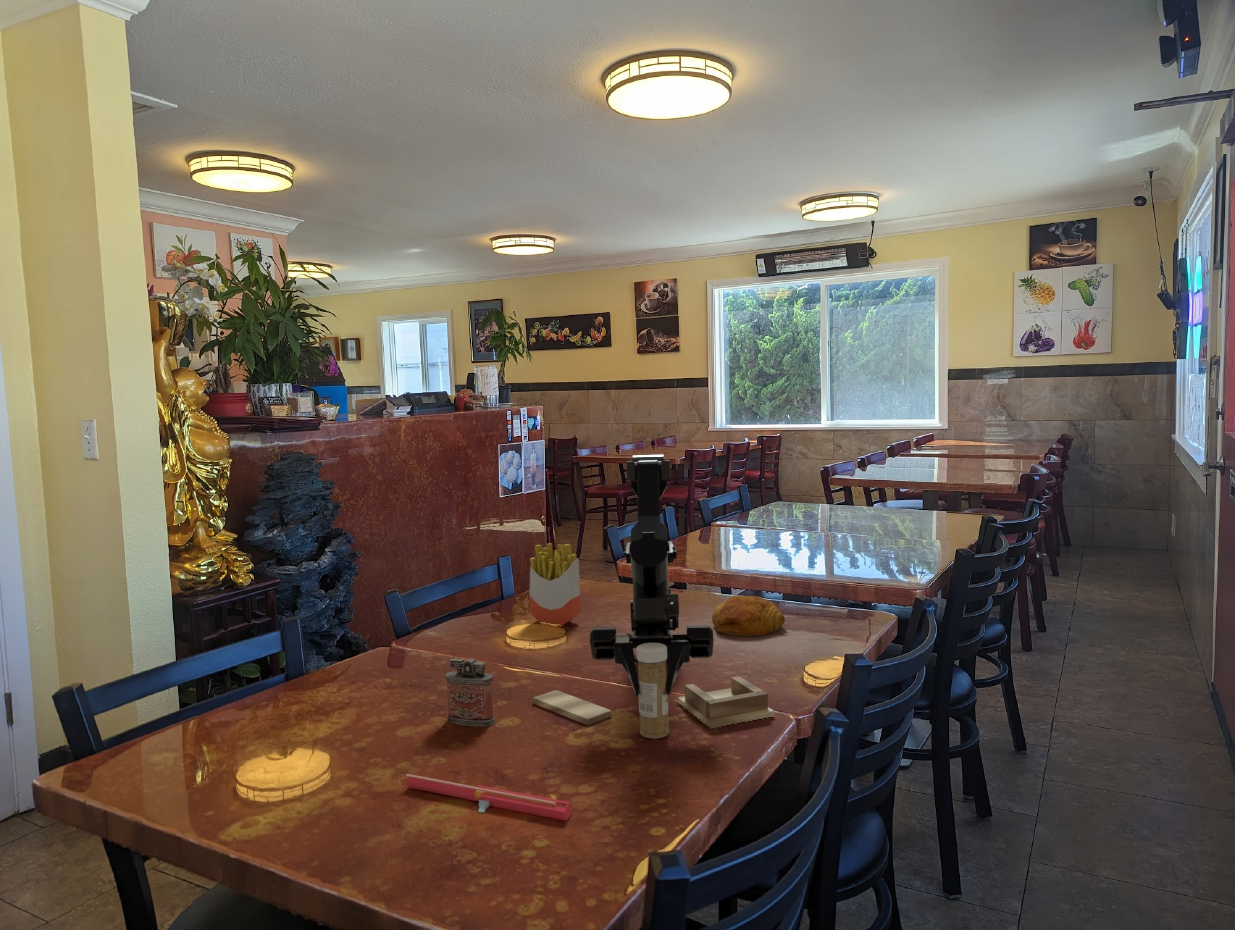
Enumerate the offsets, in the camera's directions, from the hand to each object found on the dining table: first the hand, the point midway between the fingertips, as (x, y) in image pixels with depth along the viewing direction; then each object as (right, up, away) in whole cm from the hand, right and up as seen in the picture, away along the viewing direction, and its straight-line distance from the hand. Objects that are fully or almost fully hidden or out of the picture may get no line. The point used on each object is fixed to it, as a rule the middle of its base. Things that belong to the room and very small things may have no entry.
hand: (652, 694), depth 123 cm
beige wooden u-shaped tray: (+12, -5, +10) cm, 17 cm away
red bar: (-22, -9, -18) cm, 30 cm away
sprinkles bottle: (0, -7, +2) cm, 7 cm away
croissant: (+22, -2, +57) cm, 61 cm away
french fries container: (-19, -2, +66) cm, 69 cm away
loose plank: (-13, -7, +13) cm, 19 cm away
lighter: (-28, -7, +9) cm, 31 cm away
